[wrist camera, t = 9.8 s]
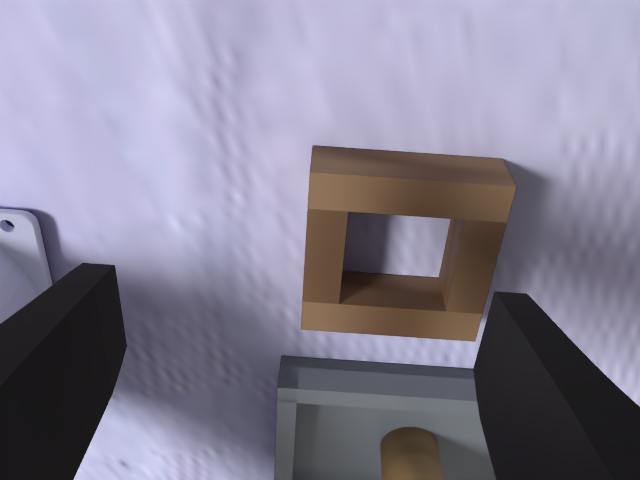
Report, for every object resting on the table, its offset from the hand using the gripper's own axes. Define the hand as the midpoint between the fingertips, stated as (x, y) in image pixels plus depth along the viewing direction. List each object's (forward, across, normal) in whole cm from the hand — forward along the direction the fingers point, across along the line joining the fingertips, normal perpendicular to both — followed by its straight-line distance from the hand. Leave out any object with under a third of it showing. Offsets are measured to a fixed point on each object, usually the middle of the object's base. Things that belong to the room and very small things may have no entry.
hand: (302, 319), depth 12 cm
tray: (+10, -5, +15) cm, 19 cm away
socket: (+10, -3, +4) cm, 11 cm away
